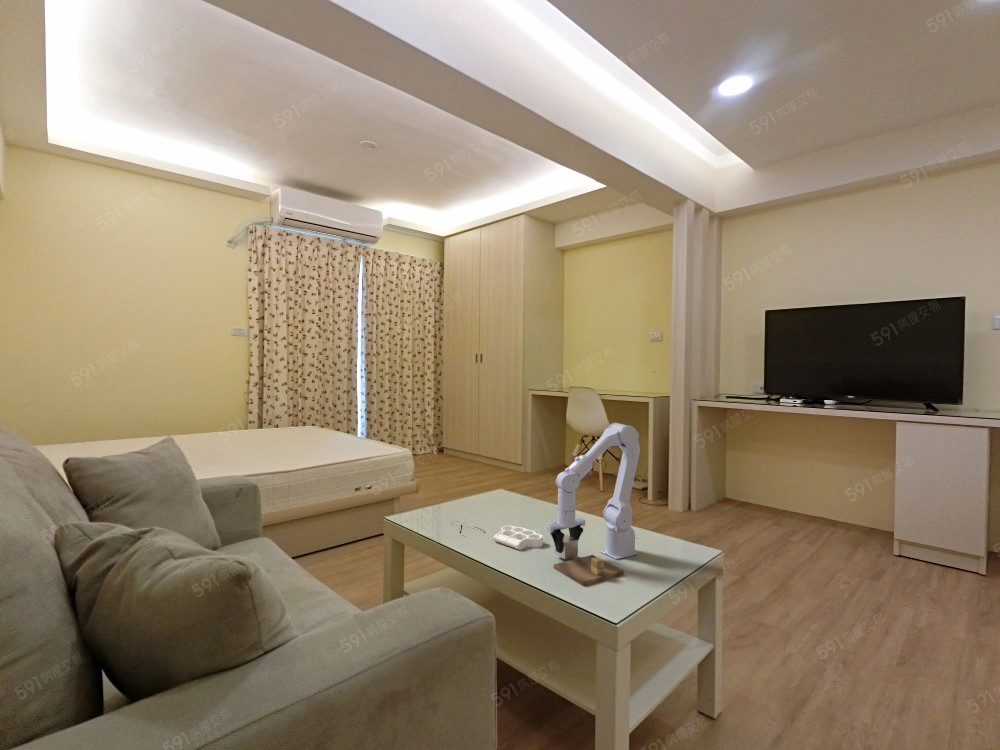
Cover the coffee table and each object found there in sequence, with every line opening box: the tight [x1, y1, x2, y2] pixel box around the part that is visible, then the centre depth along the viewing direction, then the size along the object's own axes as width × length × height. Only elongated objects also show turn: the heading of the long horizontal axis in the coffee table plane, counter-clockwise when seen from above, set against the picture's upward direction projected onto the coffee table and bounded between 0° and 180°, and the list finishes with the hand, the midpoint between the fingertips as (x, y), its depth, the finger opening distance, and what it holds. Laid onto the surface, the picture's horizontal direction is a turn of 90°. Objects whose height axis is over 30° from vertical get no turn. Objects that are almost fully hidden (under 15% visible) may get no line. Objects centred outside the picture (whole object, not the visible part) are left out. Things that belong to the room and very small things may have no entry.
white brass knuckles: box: [492, 525, 544, 551], centre depth 170 cm, size 3×18×15 cm
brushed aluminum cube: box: [554, 534, 579, 560], centre depth 155 cm, size 5×5×5 cm
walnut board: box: [553, 554, 625, 587], centre depth 145 cm, size 16×14×5 cm
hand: (566, 550), depth 155 cm, fingers closed on brushed aluminum cube, 5 cm apart
